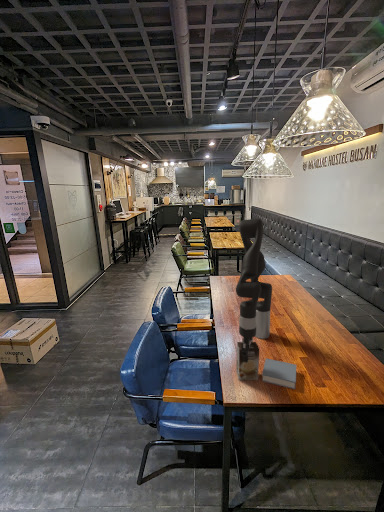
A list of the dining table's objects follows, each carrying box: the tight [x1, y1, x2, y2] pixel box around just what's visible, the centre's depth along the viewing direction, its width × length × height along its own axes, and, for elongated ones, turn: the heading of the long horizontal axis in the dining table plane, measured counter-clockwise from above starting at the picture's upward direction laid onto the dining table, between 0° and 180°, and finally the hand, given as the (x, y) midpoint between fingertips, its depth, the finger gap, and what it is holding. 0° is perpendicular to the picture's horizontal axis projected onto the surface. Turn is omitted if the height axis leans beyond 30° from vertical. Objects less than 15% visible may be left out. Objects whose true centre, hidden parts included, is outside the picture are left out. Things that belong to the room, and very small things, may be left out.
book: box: [261, 357, 297, 390], centre depth 114 cm, size 12×14×4 cm
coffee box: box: [235, 341, 260, 381], centre depth 114 cm, size 9×6×16 cm
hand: (247, 356), depth 114 cm, fingers closed on coffee box, 8 cm apart
